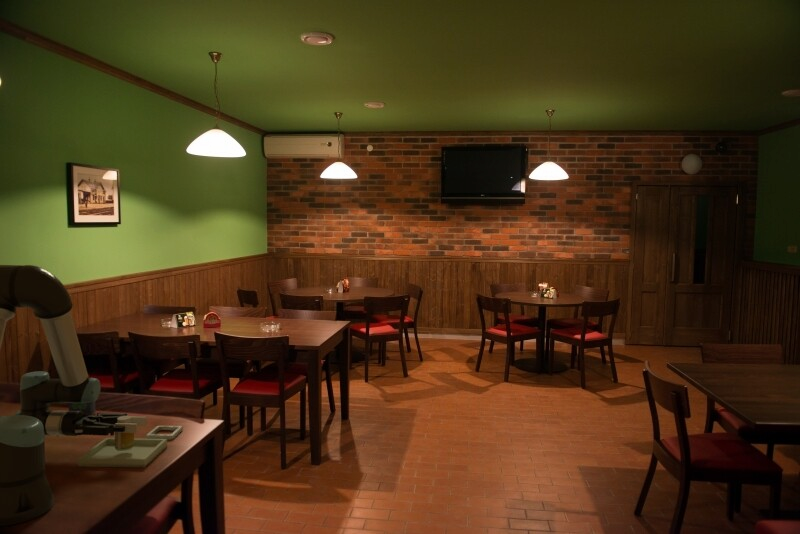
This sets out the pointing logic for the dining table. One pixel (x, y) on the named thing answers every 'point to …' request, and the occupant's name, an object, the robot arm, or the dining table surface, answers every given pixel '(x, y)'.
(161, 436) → the holder ring
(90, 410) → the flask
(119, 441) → the supplement bottle
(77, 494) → the dining table surface
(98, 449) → the tray
